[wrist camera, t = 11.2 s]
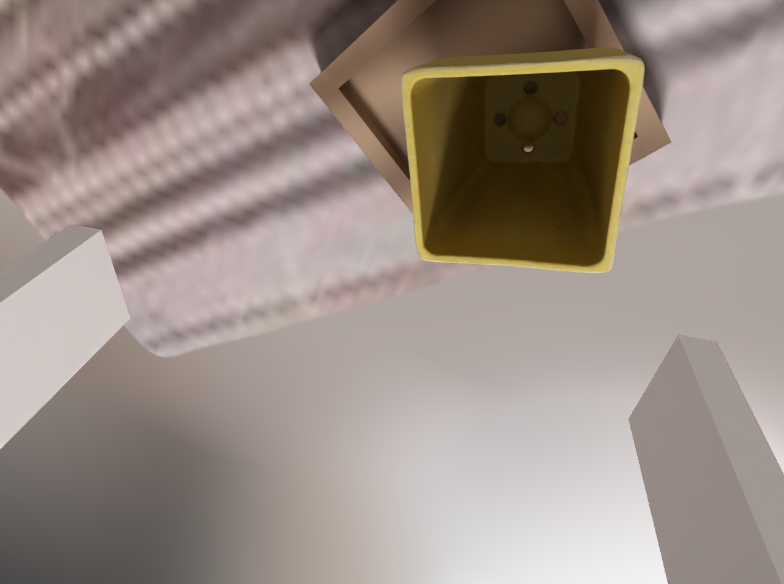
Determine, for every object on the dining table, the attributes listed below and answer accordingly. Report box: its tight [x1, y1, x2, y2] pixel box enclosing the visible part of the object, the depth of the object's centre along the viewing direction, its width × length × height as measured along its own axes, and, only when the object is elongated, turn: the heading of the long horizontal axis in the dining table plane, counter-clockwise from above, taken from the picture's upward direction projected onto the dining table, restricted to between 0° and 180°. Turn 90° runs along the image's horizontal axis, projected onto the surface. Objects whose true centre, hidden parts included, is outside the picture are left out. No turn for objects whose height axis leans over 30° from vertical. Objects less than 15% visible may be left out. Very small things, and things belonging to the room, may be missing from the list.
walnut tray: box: [310, 0, 671, 214], centre depth 27 cm, size 14×14×2 cm
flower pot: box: [401, 47, 645, 273], centre depth 23 cm, size 9×9×9 cm
